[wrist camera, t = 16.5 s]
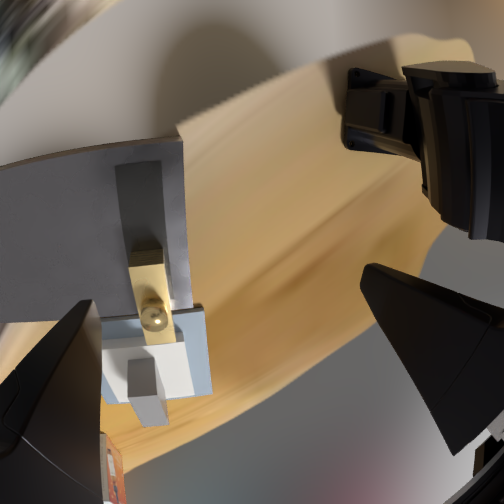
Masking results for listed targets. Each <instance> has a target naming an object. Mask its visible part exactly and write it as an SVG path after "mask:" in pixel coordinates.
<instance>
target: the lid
mask: <svg viewBox="0 0 504 504" xmlns="http://www.w3.org/2000/svg"><path fill="white" fill-rule="evenodd" d="M175 336H176V342H173V343H164V344H155V345H147V343H146V340H145V336H141V337H131V338H119V339H107V340H102V371H103V373H104V375H105V377H106V379H107V381H108V383H109V385H110V387H111V389H112V391H113V392H114V394H115V396H116V398H117V400H118V401H119V403H121V402H130V403H131V405H132V407H133V409H134V411H135V413H136V415H137V416H138V418H139V420H140V422H141V424H142V425H143V427H151V426H162V425H169V419H168V411H167V404H166V399H169V398H177V397H185V396H193V395H195V393H194V388H193V383H192V378H191V373H190V368H189V363H188V358H187V353H186V347H185V341H184V336H183V332H176V333H175Z"/></svg>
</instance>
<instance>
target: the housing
mask: <svg viewBox="0 0 504 504" xmlns="http://www.w3.org/2000/svg"><path fill="white" fill-rule="evenodd" d="M156 249H163V252H164V260H165V268H166V275H167V282H168V289H169V296H170V302H171V309H172V310H178V309H187V308H193V301H192V291H191V280H190V269H189V257H188V243H187V229H186V212H185V191H184V163H183V140H182V138H181V136H175V137H162V138H151V139H141V140H132V141H124V142H116V143H109V144H102V145H95V146H89V147H83V148H78V149H72V150H67V151H61V152H57V153H52V154H47V155H43V156H38V157H34V158H30V159H26V160H22V161H18V162H14V163H10V164H7V165H3V166H0V322H1V323H13V322H37V321H56V320H61V319H62V318H63V317H64V316H65V315H66V314H67V313H68V312H69V311H70V310H71V309H72V308H73V307H74V306H75V305H76V304H77V303H78V302H79V301H80V300H86V299H92V300H93V301H94V302H95V305H96V308H97V311H98V314H99V317H110V316H121V315H132V314H139V313H138V309H137V305H136V301H135V296H134V292H133V288H132V283H131V278H130V273H129V268H128V267H129V260H130V254H131V252H137V251H147V250H156Z"/></svg>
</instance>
